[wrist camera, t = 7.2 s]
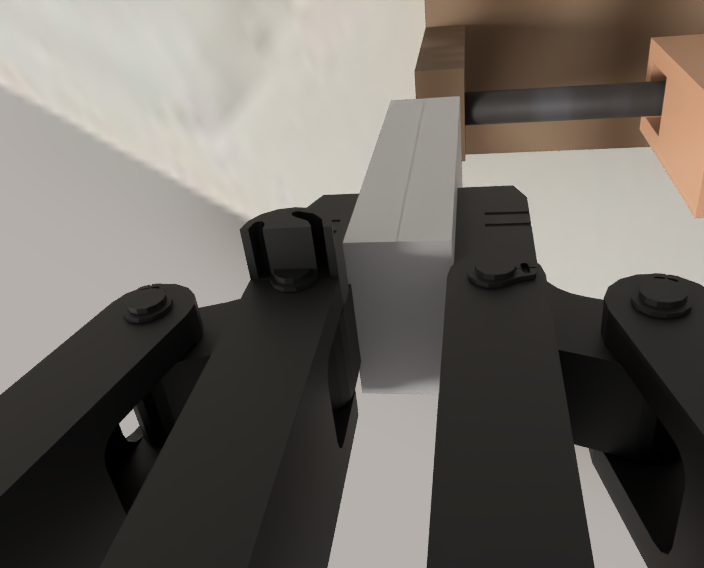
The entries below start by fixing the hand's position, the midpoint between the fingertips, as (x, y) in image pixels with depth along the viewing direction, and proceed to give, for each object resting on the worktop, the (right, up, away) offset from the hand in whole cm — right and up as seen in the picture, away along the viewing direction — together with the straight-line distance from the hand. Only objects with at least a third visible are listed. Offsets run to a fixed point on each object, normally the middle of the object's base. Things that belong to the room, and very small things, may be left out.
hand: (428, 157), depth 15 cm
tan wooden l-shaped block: (+13, +6, +14) cm, 20 cm away
